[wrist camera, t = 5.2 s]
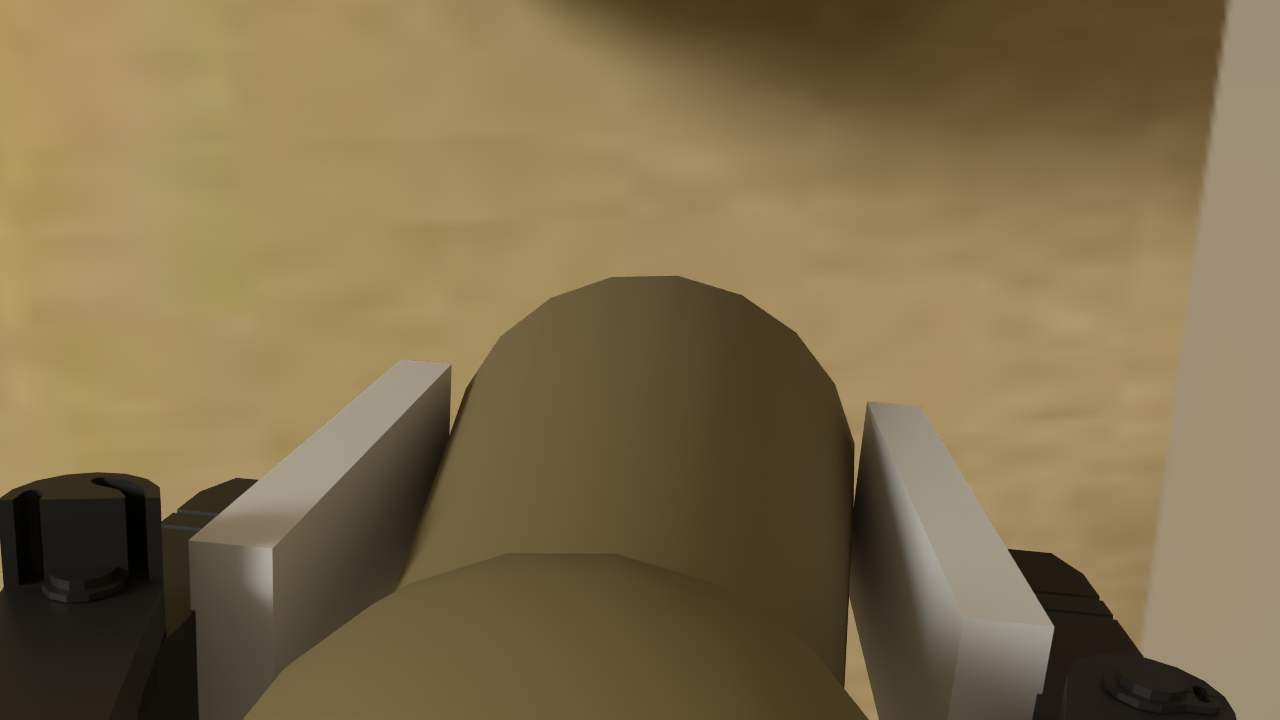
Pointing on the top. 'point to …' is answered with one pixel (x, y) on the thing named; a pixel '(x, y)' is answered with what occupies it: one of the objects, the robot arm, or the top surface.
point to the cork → (617, 531)
